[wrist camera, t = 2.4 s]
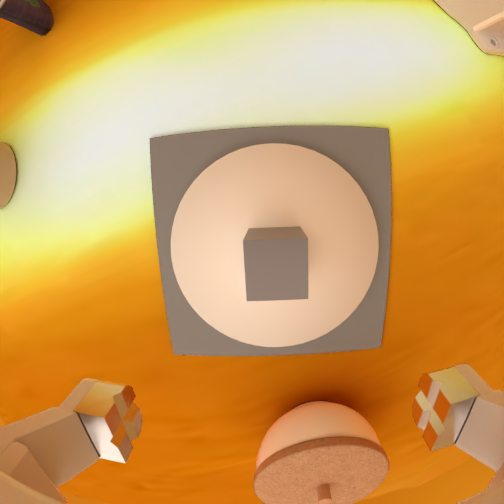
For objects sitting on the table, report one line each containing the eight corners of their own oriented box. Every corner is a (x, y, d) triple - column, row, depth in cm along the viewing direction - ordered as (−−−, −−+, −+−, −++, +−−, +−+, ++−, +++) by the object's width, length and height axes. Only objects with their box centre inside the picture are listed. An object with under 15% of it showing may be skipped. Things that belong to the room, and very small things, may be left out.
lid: (373, 144, 23) (401, 135, 17) (368, 335, 26) (388, 370, 21) (166, 153, 24) (137, 146, 18) (186, 341, 28) (168, 378, 22)
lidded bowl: (330, 463, 31) (341, 530, 21) (240, 440, 31) (230, 515, 20) (389, 396, 29) (422, 468, 18) (290, 365, 28) (297, 450, 17)
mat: (386, 129, 23) (388, 128, 22) (379, 345, 27) (380, 347, 27) (151, 138, 24) (149, 138, 24) (174, 352, 28) (173, 354, 28)
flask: (25, 9, 20) (-25, -16, 10) (40, -7, 20) (-7, -36, 9) (41, 40, 22) (-19, 13, 11) (59, 22, 21) (2, -11, 11)
